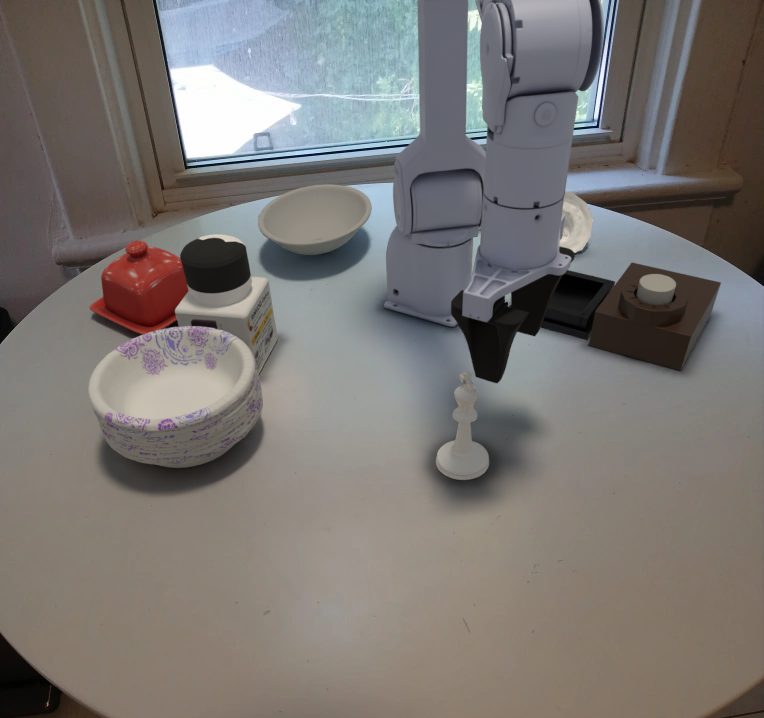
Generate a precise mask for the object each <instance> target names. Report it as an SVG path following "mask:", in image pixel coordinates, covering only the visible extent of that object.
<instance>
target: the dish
mask: <svg viewBox="0 0 764 718" xmlns="http://www.w3.org/2000/svg"><path fill="white" fill-rule="evenodd" d="M372 210H373V205H372V202H371V199H370V198H369V196H367V194H365V193H364V192H363V191H361V190H359V189H357V188H354V187H352V186H347V185H342V184H332V183H331V184H330V183H329V184H327V183H326V184H325V183H324V184H313V185H308V186H303V187H299V188H296V189H293V190H289V191H288V192H285V193H283V194H281V195H279V196H277V197H276V198H273V199H272V200H270V202H268V203H267V204H266V205H265V206H264V207H263V208H262V210H261V211H260V213H259V215H258V218H257V227H258V229H259V232H260V233H261V234H262V235H263V236H264V237H265V238H266V239H268V240H270V241H272V242H274V243H276V244H277V245H278V246H279V247H281V248H283V249H284V250H287V251H289V252H291V253H294V254H298V255H305V256H316V255H322V254H327V253H330V252H333V251H335V250H337V249H339V248H341V247H342V246H344V245H345V244H346V243H348V242H349V241H350V240H351V239H353V237H354V236H355V235H356V234H357V233H358V231H359V230H360V229H361V228H362V227H363V226H364V225H365V224H366V223H367V221H368V220H369V219H370V217H371V214H372Z"/></svg>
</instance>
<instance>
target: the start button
mask: <svg viewBox="0 0 764 718" xmlns="http://www.w3.org/2000/svg"><path fill="white" fill-rule="evenodd" d="M675 288H676V282H675V281H674V280H673V279H672V278H670V277H668V276H665V275H661V274H649V275H645V276H643V277H642V278H641V279H640V281H639V285H638V290H637V294H636V297H637V299H638V300H640V301H641V302H643V303H647V304H651V305H666V304H669V303H671V301H672V299H673V295H674V291H675Z"/></svg>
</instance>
